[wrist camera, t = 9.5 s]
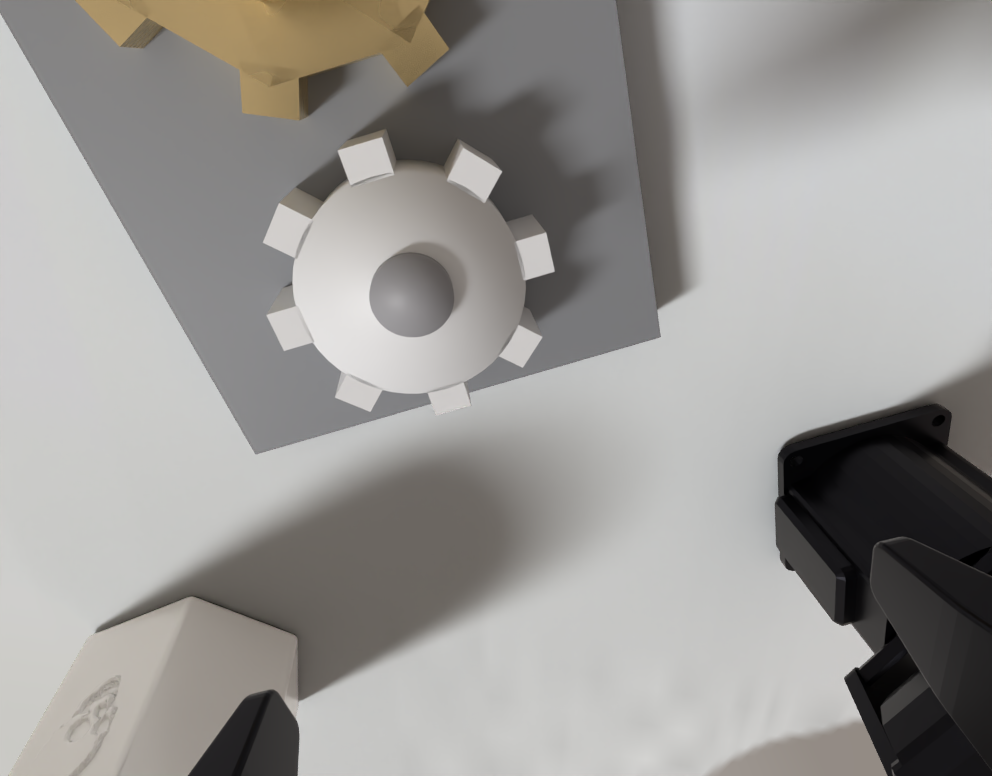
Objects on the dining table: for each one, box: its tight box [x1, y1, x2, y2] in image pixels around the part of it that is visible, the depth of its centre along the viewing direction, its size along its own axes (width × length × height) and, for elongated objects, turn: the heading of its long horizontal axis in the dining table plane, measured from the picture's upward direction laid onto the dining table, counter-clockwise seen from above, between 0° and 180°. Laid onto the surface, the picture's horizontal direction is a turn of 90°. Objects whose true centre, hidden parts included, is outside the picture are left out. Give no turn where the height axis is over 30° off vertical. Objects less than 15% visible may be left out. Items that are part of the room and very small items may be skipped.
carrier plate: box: [0, 0, 661, 454], centre depth 13 cm, size 13×18×6 cm
